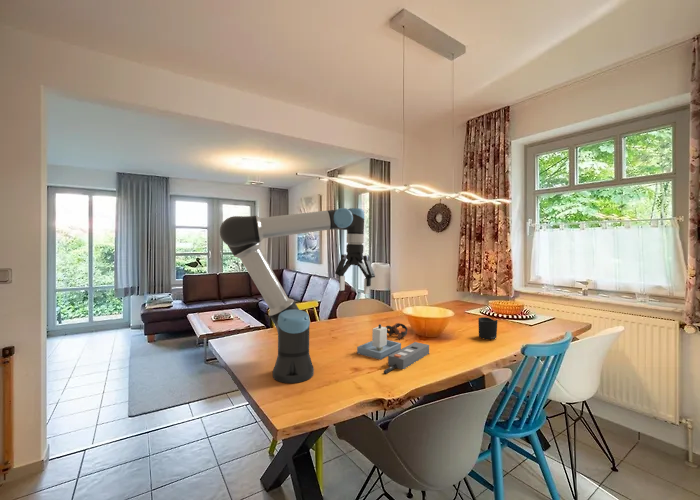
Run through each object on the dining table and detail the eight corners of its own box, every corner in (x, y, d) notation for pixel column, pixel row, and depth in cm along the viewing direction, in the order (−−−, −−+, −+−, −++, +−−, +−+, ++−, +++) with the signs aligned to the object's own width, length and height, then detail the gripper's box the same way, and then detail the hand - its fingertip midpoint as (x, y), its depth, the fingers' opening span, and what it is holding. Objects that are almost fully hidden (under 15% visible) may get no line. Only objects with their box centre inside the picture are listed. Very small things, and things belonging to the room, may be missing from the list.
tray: (380, 359, 135) (380, 352, 135) (357, 353, 143) (357, 346, 143) (400, 349, 149) (401, 343, 149) (378, 344, 157) (378, 338, 157)
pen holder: (478, 339, 167) (479, 320, 167) (477, 334, 176) (477, 316, 176) (498, 341, 164) (498, 322, 164) (495, 336, 173) (496, 318, 173)
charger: (379, 352, 143) (379, 326, 142) (372, 350, 145) (372, 325, 145) (386, 348, 147) (387, 324, 147) (379, 347, 150) (379, 322, 150)
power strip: (392, 376, 119) (392, 364, 119) (376, 371, 123) (377, 359, 123) (429, 353, 144) (429, 343, 144) (415, 350, 148) (415, 340, 148)
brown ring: (402, 334, 176) (407, 323, 172) (404, 347, 168) (410, 335, 164) (382, 329, 175) (387, 318, 171) (382, 341, 167) (388, 330, 163)
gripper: (383, 244, 134) (382, 294, 134) (338, 243, 150) (337, 288, 150) (373, 244, 128) (372, 296, 129) (328, 243, 144) (327, 289, 144)
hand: (353, 292), depth 139 cm, fingers open, 13 cm apart
